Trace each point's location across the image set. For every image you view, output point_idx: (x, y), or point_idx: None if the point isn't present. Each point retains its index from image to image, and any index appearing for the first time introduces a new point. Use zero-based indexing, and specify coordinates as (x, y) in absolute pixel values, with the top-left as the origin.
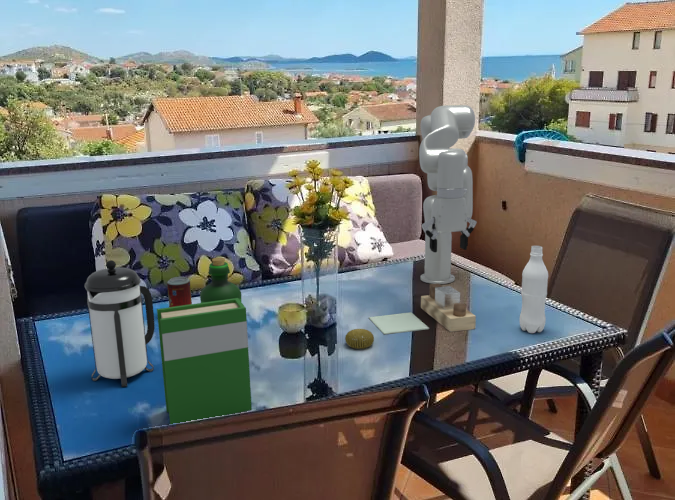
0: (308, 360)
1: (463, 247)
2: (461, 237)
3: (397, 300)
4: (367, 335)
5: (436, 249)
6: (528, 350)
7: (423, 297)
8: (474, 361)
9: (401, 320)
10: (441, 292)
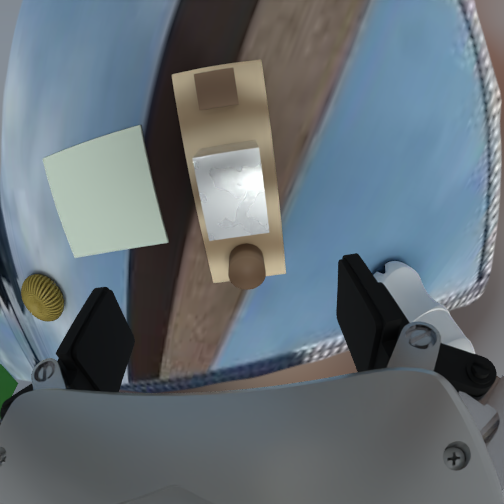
0: (9, 320)
1: (340, 314)
2: (368, 333)
3: (130, 15)
4: (50, 317)
5: (127, 355)
6: (326, 349)
7: (176, 89)
8: (224, 370)
9: (108, 185)
10: (203, 213)
